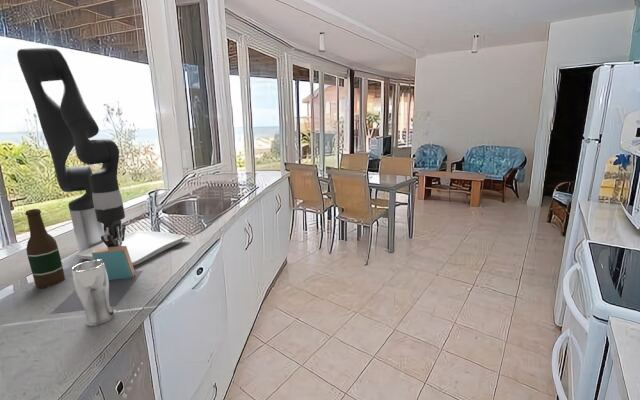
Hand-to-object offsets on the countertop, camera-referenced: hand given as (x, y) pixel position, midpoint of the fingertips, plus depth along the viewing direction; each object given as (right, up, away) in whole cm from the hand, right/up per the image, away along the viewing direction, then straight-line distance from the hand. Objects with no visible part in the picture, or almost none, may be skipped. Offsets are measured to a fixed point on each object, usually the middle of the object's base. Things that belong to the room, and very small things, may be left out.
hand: (118, 257), depth 105 cm
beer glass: (+9, -12, -22) cm, 26 cm away
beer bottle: (-21, -8, -1) cm, 22 cm away
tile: (0, -6, -1) cm, 6 cm away
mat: (0, -9, -8) cm, 12 cm away
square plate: (-7, -2, +22) cm, 23 cm away
